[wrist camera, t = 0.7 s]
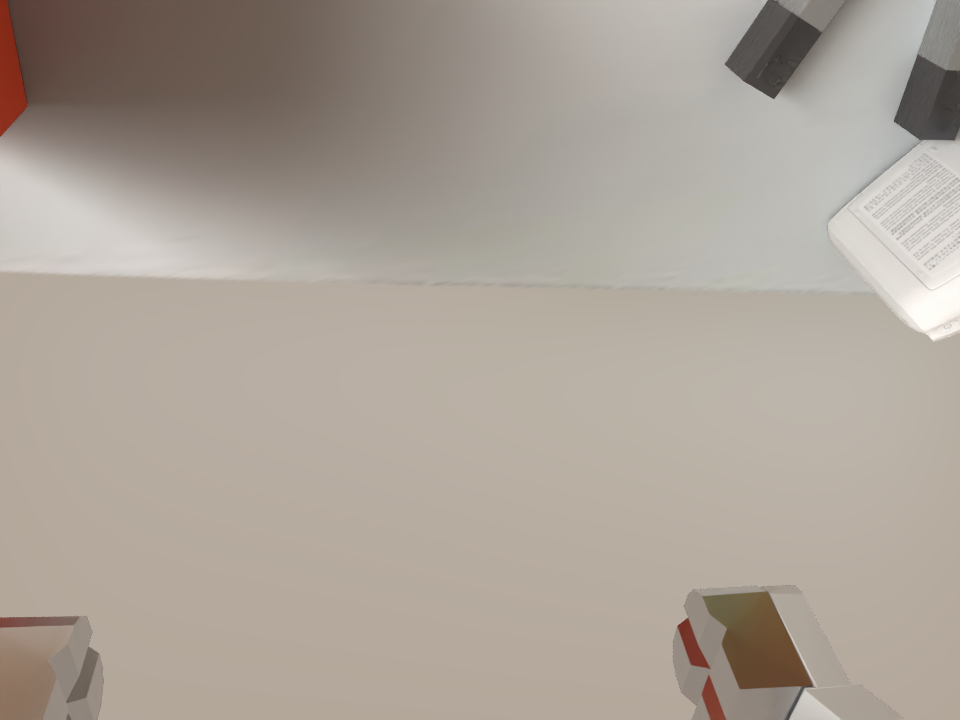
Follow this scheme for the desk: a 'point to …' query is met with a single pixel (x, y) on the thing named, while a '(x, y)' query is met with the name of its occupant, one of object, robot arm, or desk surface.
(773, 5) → the bar
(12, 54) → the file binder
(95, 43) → the desk surface
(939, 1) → the tongs body
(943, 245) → the photo printer
